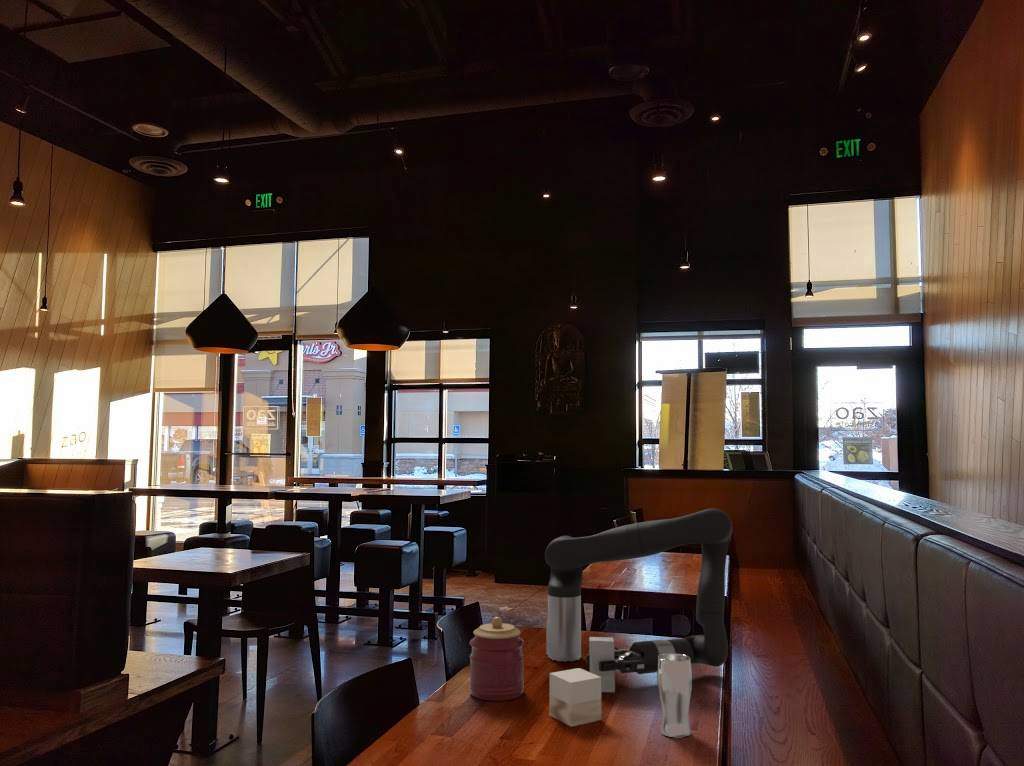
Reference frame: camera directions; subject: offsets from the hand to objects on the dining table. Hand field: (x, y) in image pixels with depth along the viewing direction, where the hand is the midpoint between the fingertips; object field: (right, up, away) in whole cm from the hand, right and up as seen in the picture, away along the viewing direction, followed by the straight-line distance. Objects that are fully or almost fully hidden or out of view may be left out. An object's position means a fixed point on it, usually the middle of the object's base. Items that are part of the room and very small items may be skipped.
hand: (593, 662), depth 181 cm
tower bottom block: (-6, -5, -19) cm, 20 cm away
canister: (-23, -6, -3) cm, 24 cm away
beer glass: (+14, -4, -28) cm, 31 cm away
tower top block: (-6, 0, -18) cm, 19 cm away
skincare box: (+2, -7, 0) cm, 7 cm away
